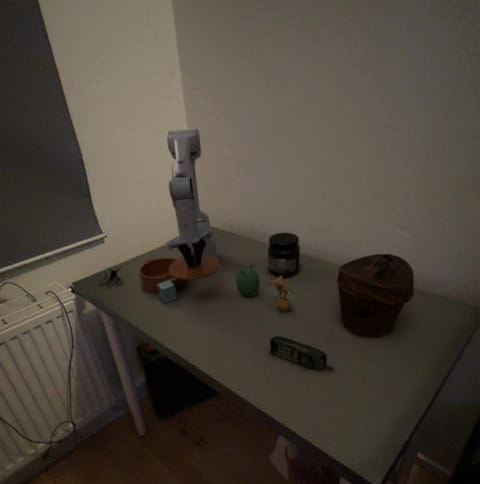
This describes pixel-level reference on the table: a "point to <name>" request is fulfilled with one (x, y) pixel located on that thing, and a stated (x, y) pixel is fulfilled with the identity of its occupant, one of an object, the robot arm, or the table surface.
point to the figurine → (283, 302)
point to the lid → (194, 267)
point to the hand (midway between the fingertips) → (194, 264)
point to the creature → (112, 276)
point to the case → (374, 293)
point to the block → (167, 291)
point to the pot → (157, 274)
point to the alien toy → (247, 281)
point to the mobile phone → (299, 353)
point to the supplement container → (283, 254)
